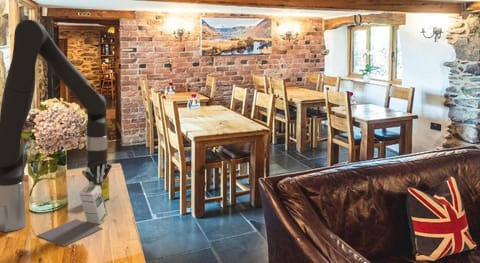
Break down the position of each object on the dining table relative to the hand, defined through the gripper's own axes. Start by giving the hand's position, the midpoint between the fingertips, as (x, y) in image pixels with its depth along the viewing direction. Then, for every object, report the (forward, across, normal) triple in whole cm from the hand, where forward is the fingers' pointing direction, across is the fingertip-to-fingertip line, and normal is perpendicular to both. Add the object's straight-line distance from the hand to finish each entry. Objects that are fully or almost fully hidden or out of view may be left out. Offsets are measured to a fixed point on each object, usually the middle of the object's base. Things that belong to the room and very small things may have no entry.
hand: (97, 191), depth 162 cm
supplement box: (+12, -14, -15) cm, 24 cm away
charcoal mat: (+12, +13, 0) cm, 18 cm away
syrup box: (+11, +1, 0) cm, 11 cm away
